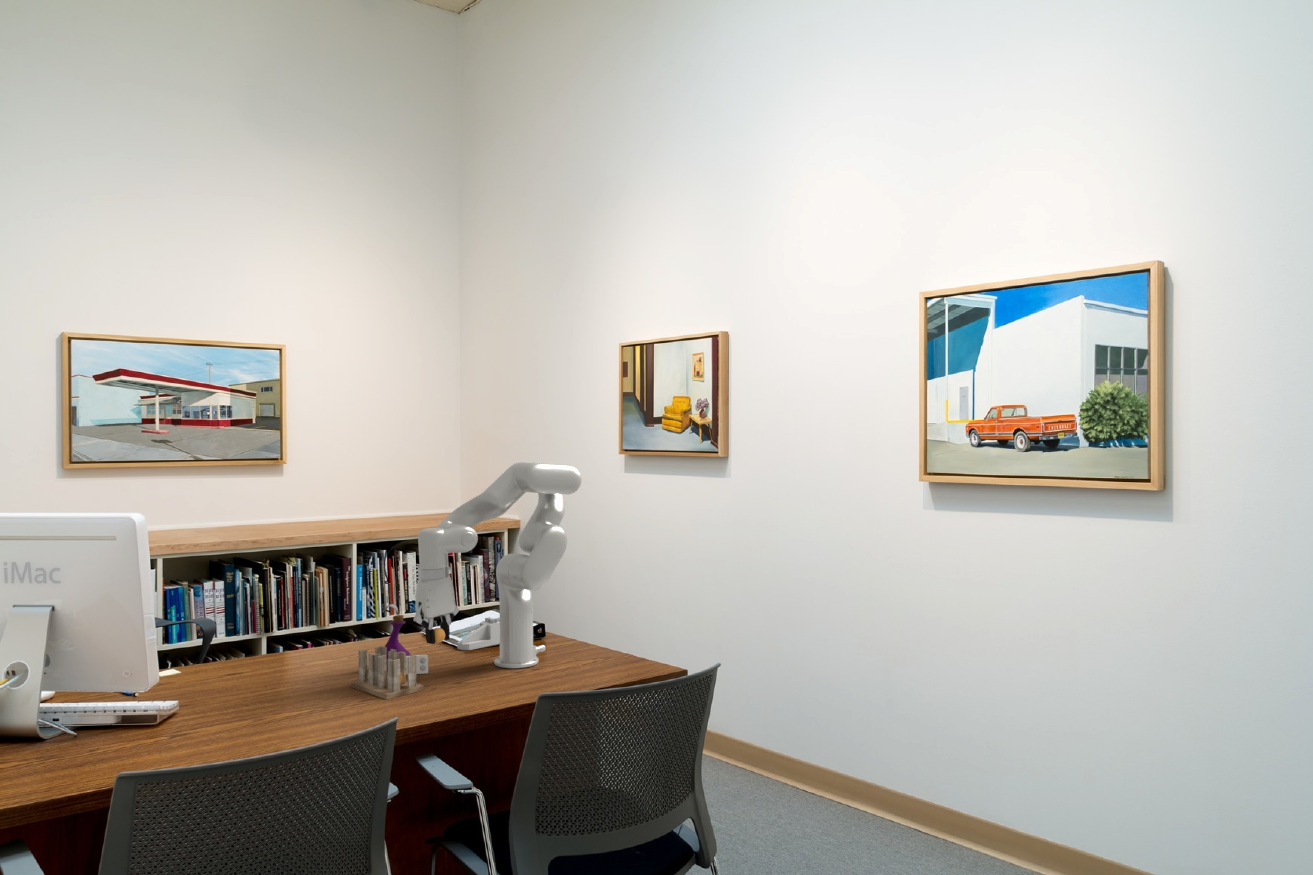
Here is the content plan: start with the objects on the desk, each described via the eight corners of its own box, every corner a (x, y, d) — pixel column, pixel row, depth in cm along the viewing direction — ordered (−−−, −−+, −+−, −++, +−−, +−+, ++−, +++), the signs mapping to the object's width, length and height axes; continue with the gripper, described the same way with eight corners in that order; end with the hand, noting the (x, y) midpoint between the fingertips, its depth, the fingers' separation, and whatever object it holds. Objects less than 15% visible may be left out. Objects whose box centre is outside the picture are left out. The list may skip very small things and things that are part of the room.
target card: (398, 674, 249) (398, 656, 249) (428, 672, 251) (428, 654, 251) (398, 675, 249) (398, 657, 249) (428, 673, 251) (428, 655, 251)
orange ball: (439, 639, 247) (439, 625, 247) (448, 641, 244) (447, 627, 244) (427, 643, 244) (426, 628, 244) (436, 645, 241) (435, 630, 241)
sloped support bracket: (454, 648, 280) (454, 622, 280) (501, 638, 293) (501, 614, 293) (465, 651, 276) (465, 625, 276) (512, 641, 289) (512, 616, 289)
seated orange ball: (399, 683, 236) (399, 668, 236) (408, 686, 233) (408, 671, 233) (385, 687, 233) (385, 671, 233) (394, 690, 230) (394, 674, 230)
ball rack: (387, 678, 246) (387, 644, 246) (424, 689, 235) (423, 654, 235) (350, 686, 238) (350, 651, 237) (386, 699, 226) (386, 662, 226)
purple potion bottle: (410, 664, 260) (410, 602, 260) (400, 671, 253) (400, 607, 252) (385, 664, 261) (385, 601, 261) (375, 671, 253) (374, 606, 253)
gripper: (451, 567, 252) (455, 632, 253) (399, 578, 240) (403, 646, 240) (468, 570, 247) (471, 636, 248) (415, 580, 235) (419, 650, 235)
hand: (438, 640), depth 244 cm, fingers closed on orange ball, 3 cm apart
